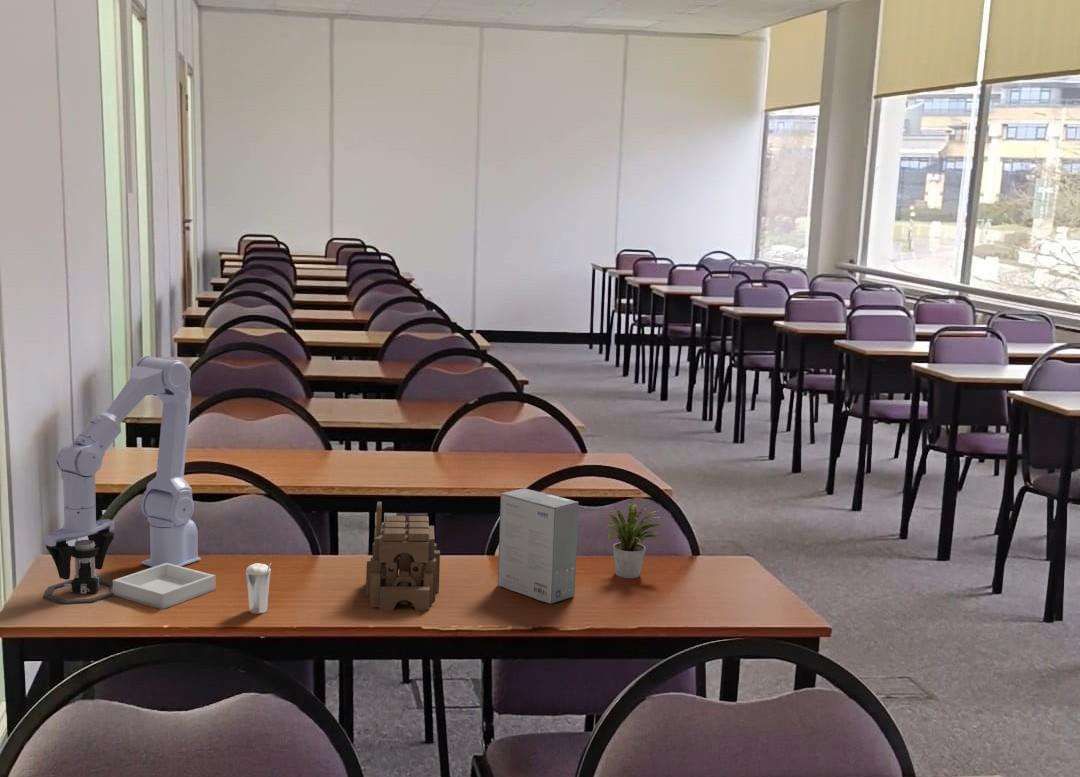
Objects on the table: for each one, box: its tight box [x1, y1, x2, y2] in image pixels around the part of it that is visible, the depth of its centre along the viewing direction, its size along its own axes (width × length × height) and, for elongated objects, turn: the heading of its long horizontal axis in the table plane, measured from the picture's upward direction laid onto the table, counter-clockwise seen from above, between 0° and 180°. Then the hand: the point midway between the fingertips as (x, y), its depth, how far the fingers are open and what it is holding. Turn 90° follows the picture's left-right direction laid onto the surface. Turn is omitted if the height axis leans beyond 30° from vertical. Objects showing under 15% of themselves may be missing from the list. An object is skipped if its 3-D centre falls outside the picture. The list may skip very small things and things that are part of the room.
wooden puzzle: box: [365, 501, 441, 611], centre depth 230 cm, size 22×15×19 cm, turn 6°
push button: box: [63, 539, 100, 595], centre depth 223 cm, size 7×5×10 cm
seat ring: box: [43, 578, 115, 605], centre depth 223 cm, size 13×13×1 cm
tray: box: [112, 563, 217, 610], centre depth 225 cm, size 14×14×3 cm
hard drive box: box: [497, 488, 580, 605], centre depth 233 cm, size 16×8×20 cm, turn 47°
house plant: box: [604, 500, 666, 579], centre depth 245 cm, size 14×14×16 cm
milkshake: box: [245, 562, 272, 615], centre depth 216 cm, size 4×5×10 cm
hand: (81, 573), depth 223 cm, fingers open, 7 cm apart
